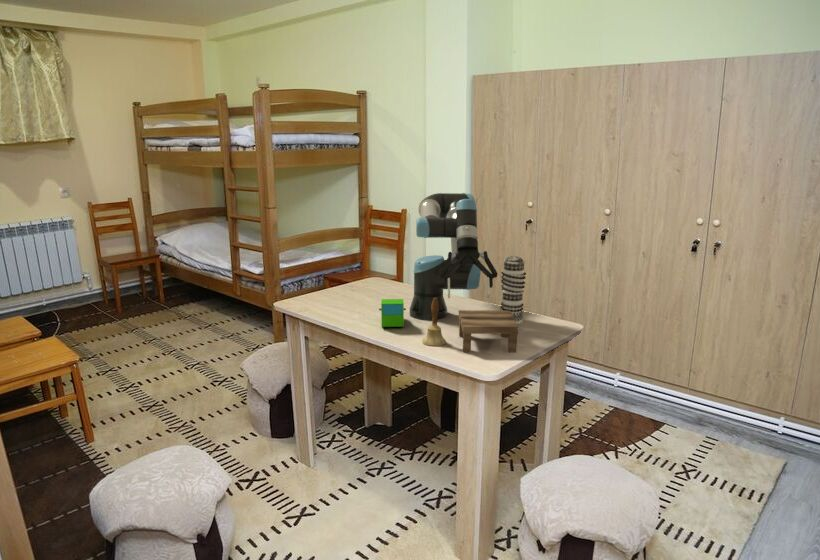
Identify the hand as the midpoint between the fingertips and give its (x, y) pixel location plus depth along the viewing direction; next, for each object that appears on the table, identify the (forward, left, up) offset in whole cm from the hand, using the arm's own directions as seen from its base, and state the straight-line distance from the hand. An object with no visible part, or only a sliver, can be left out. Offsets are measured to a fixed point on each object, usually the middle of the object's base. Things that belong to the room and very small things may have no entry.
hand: (468, 296), depth 195 cm
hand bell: (+3, -12, -16) cm, 20 cm away
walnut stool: (+4, +6, -15) cm, 17 cm away
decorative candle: (-21, +19, -16) cm, 32 cm away
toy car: (-17, -27, -16) cm, 36 cm away
